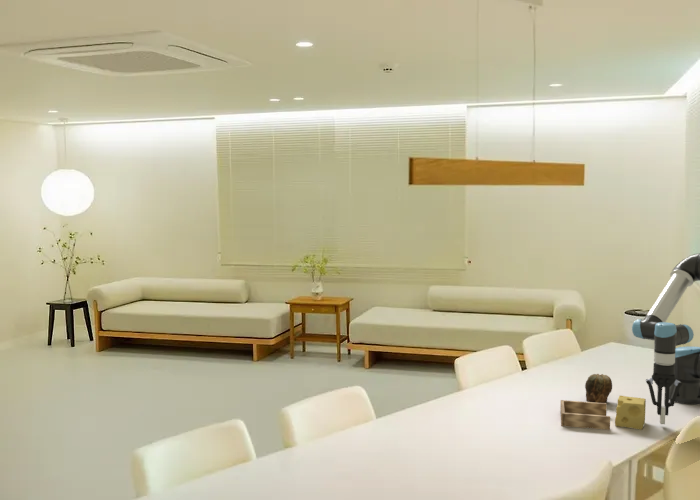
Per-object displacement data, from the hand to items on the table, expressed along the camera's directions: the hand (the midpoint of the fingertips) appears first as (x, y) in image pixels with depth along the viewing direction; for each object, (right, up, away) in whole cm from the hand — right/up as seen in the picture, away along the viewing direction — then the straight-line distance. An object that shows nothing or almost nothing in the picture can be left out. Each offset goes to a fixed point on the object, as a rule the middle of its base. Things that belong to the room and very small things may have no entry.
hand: (662, 423), depth 271 cm
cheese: (-11, -2, +3) cm, 12 cm away
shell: (-13, +1, +34) cm, 36 cm away
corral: (-27, -1, +8) cm, 28 cm away
